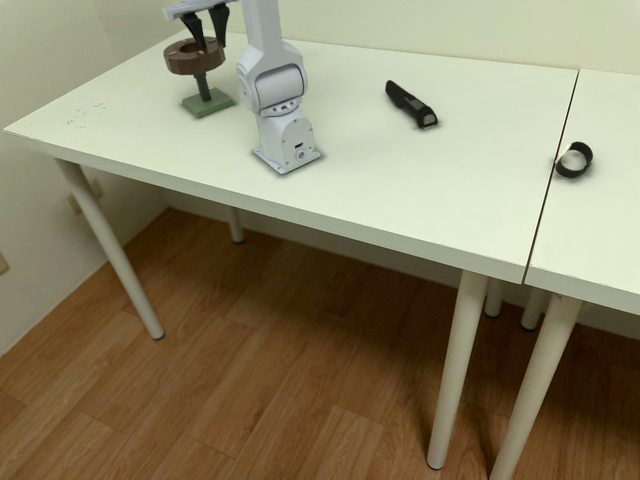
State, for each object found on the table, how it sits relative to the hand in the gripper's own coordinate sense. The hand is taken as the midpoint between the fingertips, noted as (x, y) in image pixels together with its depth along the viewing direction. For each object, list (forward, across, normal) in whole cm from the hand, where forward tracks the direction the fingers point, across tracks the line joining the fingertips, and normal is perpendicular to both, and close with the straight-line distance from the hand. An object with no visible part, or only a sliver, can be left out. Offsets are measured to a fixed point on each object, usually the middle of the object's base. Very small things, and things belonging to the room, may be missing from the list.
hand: (213, 49), depth 92 cm
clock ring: (+1, +4, 0) cm, 4 cm away
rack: (+10, +4, 0) cm, 11 cm away
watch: (+10, -28, +61) cm, 68 cm away
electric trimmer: (+10, -23, +31) cm, 40 cm away
